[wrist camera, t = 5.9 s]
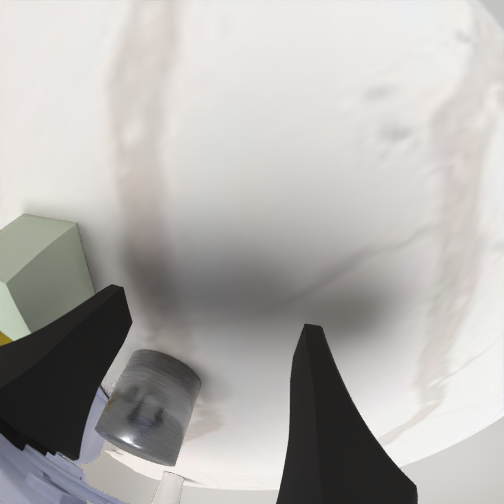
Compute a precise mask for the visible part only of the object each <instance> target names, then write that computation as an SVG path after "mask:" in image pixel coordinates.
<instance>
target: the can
mask: <svg viewBox="0 0 504 504" xmlns="http://www.w3.org/2000/svg"><path fill="white" fill-rule="evenodd" d="M200 386H201V382H200V379H199V377H198V376H197V374H196V373H195V372H194V371H193V370H192V369H191V368H189V367H188V366H187V365H185V364H184V363H182V362H181V361H179V360H177V359H175V358H173V357H171V356H169V355H166V354H164V353H161V352H157V351H153V350H138V351H135V352H134V353H133V354H132V356H131V358H130V360H129V362H128V363H127V365H126V367H125V369H124V371H123V373H122V375H121V377H120V378H119V380H118V382H117V384H116V386H115V388H114V390H113V392H112V394H111V396H110V398H109V400H108V402H107V404H106V406H105V408H104V410H103V412H102V414H101V416H100V418H99V420H98V422H97V424H96V426H95V428H94V430H95V431H96V432H97V433H98V434H99V435H100V436H101V437H103V438H104V439H105V440H107V441H108V442H110V443H112V444H113V445H115V446H117V447H119V448H121V449H122V450H124V451H126V452H128V453H131V454H133V455H135V456H137V457H140V458H142V459H145V460H148V461H151V462H154V463H157V464H161V465H165V466H175V464H176V461H177V458H178V455H179V451H180V448H181V445H182V442H183V439H184V436H185V433H186V429H187V426H188V423H189V420H190V417H191V414H192V411H193V408H194V404H195V401H196V398H197V395H198V392H199V389H200Z"/></svg>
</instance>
